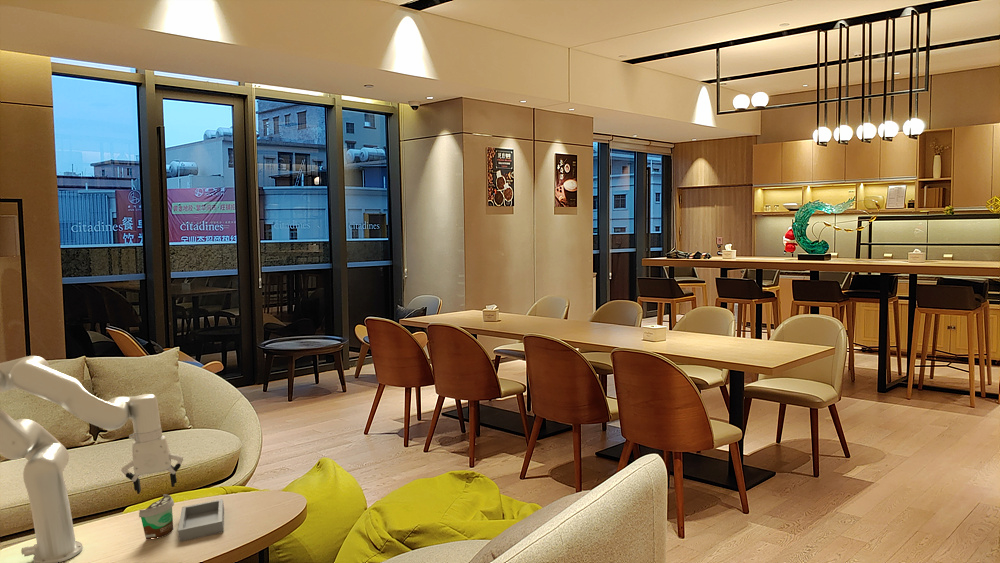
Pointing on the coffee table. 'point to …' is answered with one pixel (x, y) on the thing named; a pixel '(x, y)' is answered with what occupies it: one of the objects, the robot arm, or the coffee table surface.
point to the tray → (201, 520)
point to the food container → (158, 518)
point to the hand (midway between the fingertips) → (156, 488)
